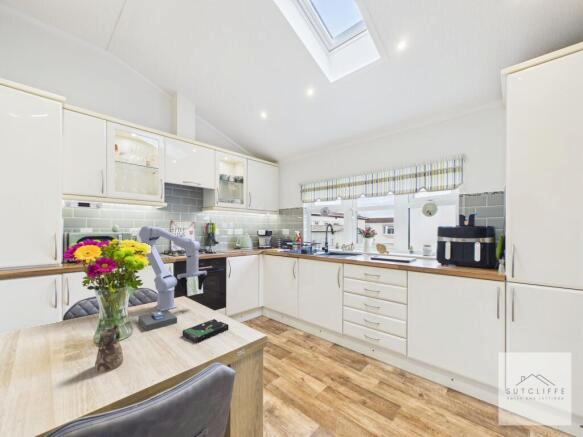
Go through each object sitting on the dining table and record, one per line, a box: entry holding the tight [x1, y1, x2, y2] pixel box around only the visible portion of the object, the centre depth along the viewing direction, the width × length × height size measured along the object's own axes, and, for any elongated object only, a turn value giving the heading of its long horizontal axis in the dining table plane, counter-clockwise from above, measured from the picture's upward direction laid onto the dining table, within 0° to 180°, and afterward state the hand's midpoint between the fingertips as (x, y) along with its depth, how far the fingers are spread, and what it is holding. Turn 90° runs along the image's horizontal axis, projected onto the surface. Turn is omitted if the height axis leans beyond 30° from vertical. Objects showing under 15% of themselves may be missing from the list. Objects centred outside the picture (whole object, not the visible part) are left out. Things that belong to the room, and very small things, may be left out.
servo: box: [152, 311, 164, 320], centre depth 112 cm, size 8×3×5 cm, turn 40°
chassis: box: [138, 309, 178, 332], centre depth 113 cm, size 14×12×2 cm
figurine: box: [94, 324, 124, 374], centre depth 79 cm, size 7×7×12 cm
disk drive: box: [181, 318, 229, 344], centre depth 102 cm, size 10×3×15 cm
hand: (192, 290), depth 129 cm, fingers open, 7 cm apart
